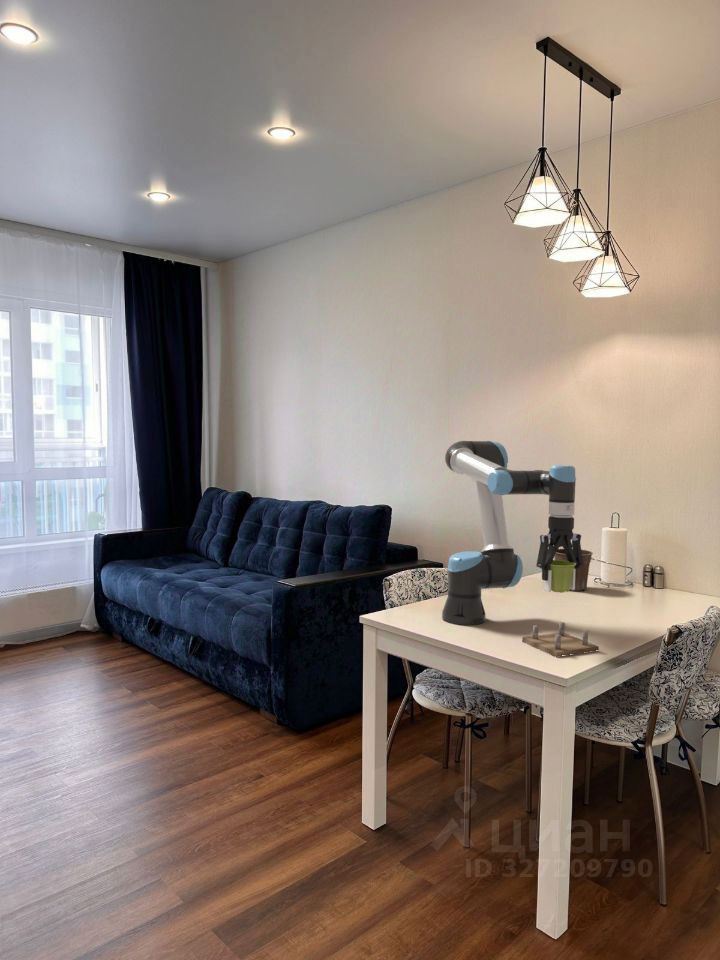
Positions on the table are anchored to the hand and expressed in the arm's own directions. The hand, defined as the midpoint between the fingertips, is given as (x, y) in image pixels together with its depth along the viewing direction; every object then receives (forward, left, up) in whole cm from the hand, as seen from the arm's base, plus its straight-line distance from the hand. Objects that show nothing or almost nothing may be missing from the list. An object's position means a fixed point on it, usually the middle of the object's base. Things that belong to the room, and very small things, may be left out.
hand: (559, 589), depth 206 cm
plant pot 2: (-64, +62, -18) cm, 91 cm away
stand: (0, +1, -18) cm, 18 cm away
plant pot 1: (0, 0, -1) cm, 1 cm away
